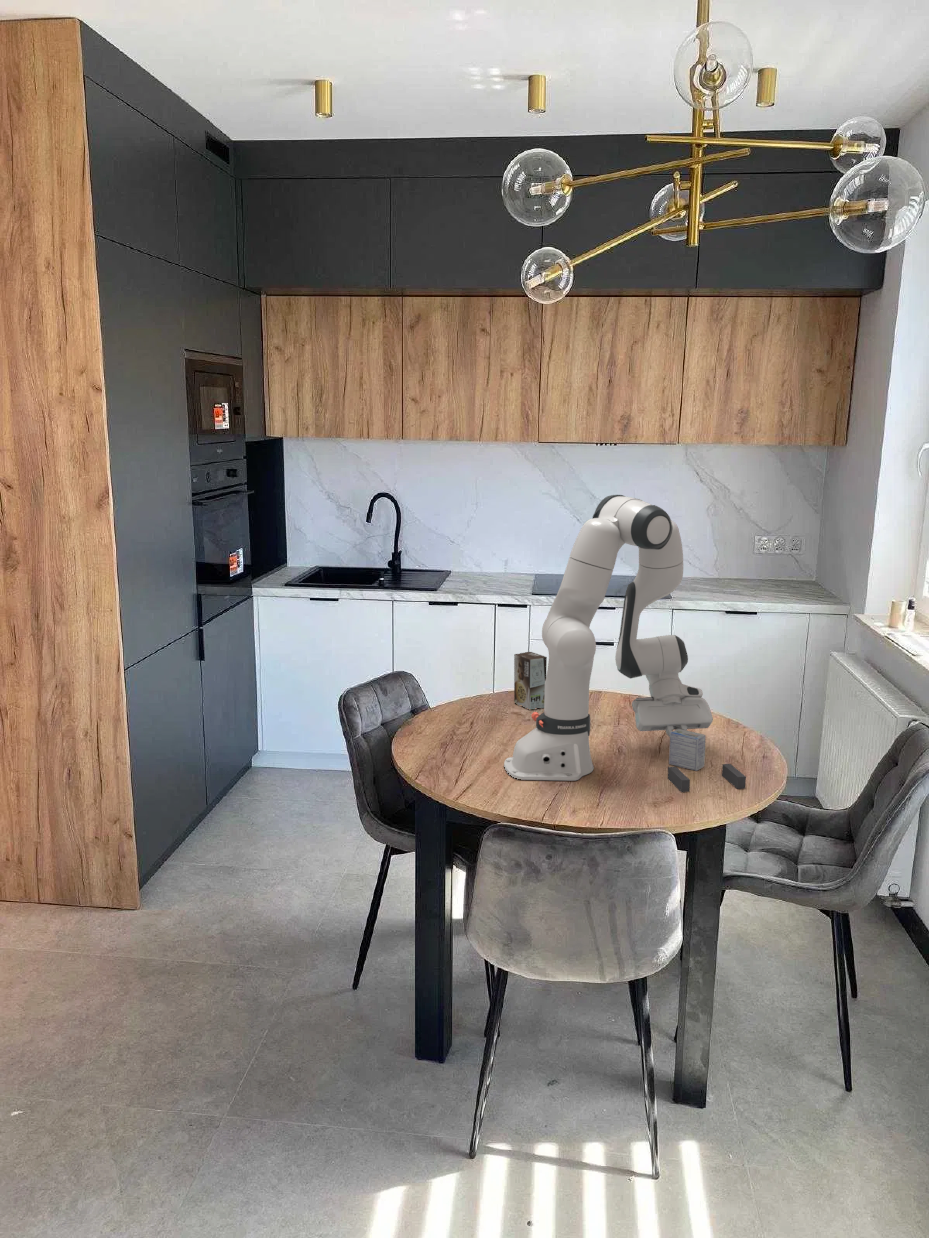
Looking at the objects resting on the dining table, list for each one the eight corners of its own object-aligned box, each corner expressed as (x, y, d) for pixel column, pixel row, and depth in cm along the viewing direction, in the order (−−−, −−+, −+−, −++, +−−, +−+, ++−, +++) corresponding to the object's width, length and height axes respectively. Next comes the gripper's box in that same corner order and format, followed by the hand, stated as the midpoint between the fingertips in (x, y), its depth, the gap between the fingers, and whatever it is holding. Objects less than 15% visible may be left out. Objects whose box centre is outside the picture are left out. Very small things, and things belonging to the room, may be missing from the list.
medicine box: (704, 767, 238) (706, 734, 236) (696, 771, 235) (698, 738, 233) (676, 760, 243) (678, 728, 241) (668, 764, 240) (669, 732, 238)
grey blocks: (681, 792, 221) (681, 780, 221) (667, 778, 230) (668, 766, 230) (745, 788, 224) (746, 776, 223) (729, 775, 232) (730, 763, 232)
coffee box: (546, 707, 289) (547, 656, 286) (529, 710, 286) (530, 659, 283) (530, 700, 297) (530, 650, 293) (513, 703, 293) (513, 653, 290)
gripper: (633, 692, 246) (644, 739, 239) (707, 689, 249) (720, 735, 242) (627, 703, 251) (638, 750, 244) (700, 700, 254) (712, 746, 247)
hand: (679, 743), depth 243 cm, fingers closed
